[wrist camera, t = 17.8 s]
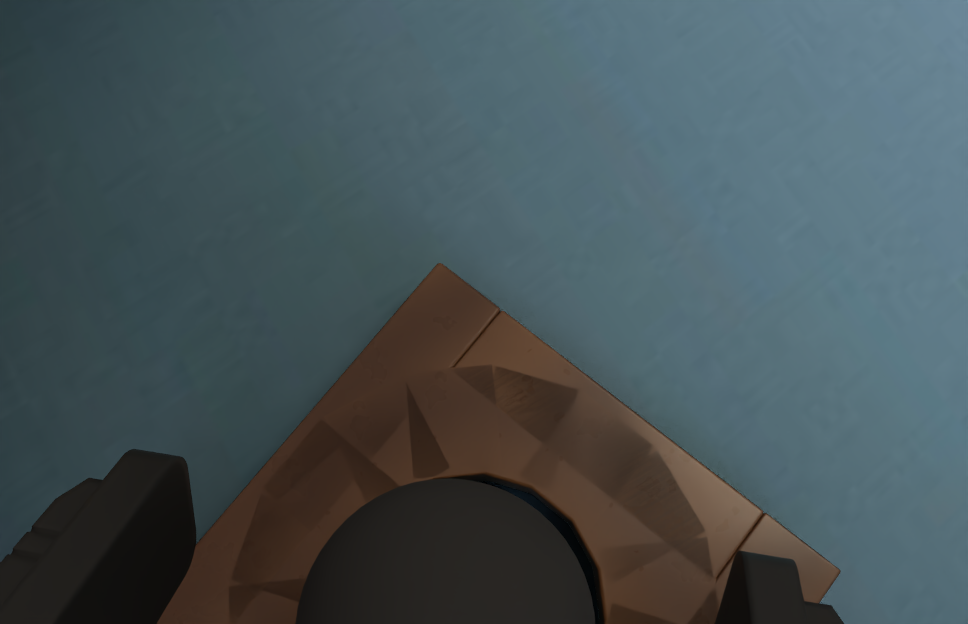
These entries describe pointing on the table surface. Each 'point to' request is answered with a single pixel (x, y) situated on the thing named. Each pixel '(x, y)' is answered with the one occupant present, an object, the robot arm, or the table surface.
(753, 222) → the table surface
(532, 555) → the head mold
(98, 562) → the robot arm
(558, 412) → the display base
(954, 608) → the table surface
